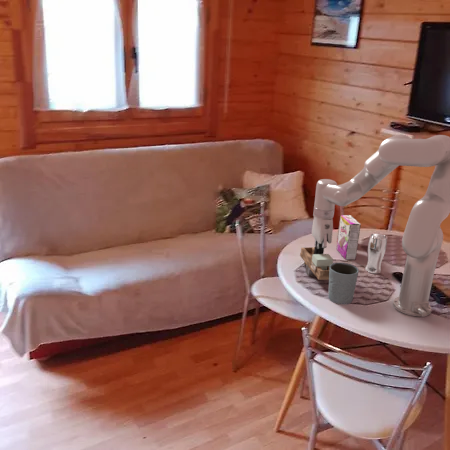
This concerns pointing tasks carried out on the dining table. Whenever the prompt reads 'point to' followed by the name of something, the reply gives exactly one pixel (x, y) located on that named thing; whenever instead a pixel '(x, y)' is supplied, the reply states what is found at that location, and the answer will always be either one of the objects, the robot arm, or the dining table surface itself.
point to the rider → (322, 260)
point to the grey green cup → (342, 282)
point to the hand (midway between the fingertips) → (318, 256)
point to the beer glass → (376, 252)
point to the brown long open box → (310, 266)
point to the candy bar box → (348, 237)
